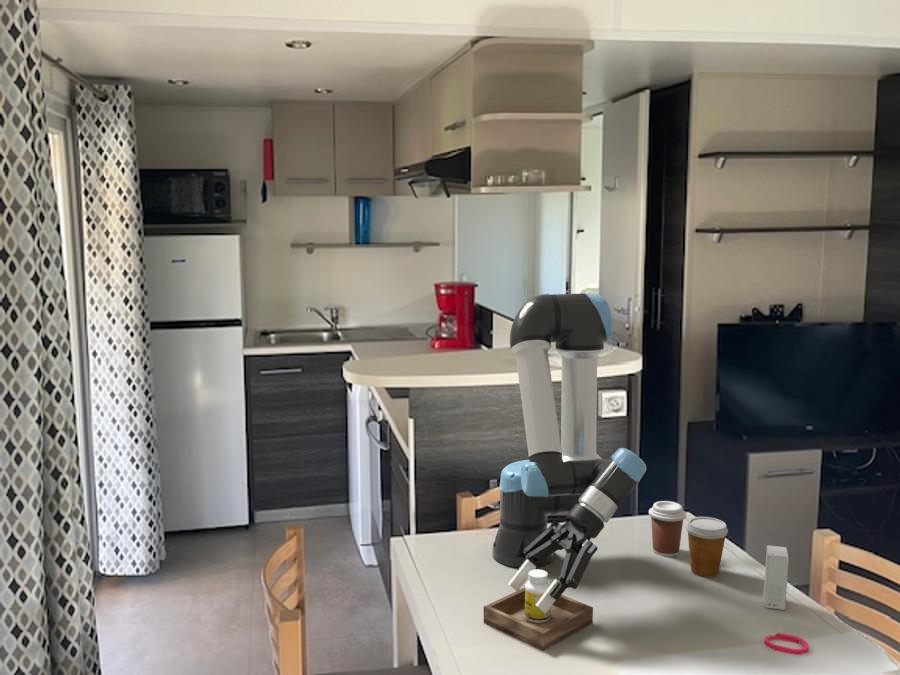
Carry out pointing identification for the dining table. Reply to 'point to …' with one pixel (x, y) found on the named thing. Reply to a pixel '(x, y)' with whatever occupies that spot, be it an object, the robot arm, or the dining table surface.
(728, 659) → the dining table surface
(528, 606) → the supplement bottle
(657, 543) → the coffee cup
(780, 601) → the skincare box
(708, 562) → the disposable coffee cup
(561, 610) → the walnut tray
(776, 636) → the fitness band
